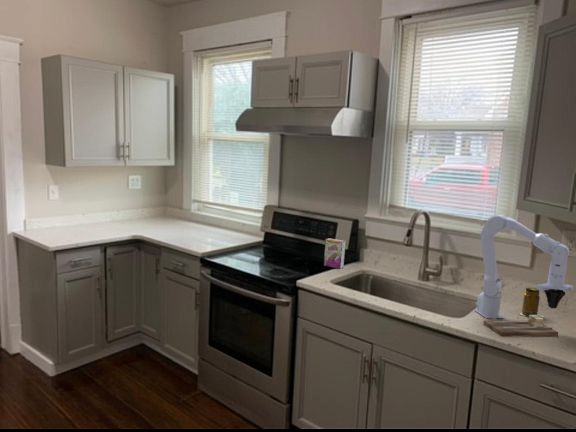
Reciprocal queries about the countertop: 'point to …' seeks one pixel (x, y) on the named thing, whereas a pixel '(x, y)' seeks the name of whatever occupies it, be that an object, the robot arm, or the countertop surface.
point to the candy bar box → (334, 253)
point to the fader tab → (535, 321)
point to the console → (519, 328)
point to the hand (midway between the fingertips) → (552, 307)
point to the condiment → (531, 302)
